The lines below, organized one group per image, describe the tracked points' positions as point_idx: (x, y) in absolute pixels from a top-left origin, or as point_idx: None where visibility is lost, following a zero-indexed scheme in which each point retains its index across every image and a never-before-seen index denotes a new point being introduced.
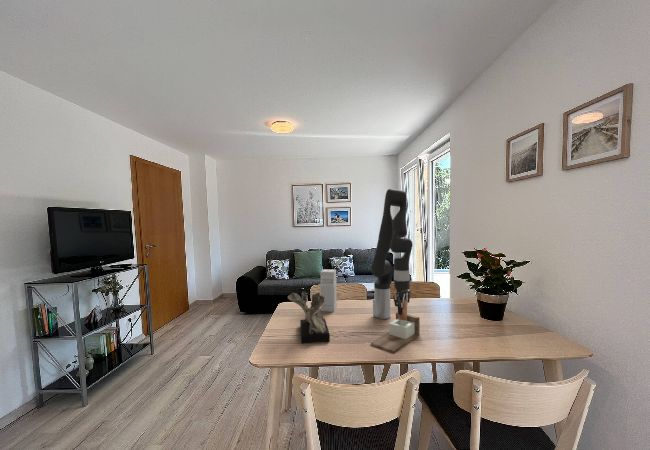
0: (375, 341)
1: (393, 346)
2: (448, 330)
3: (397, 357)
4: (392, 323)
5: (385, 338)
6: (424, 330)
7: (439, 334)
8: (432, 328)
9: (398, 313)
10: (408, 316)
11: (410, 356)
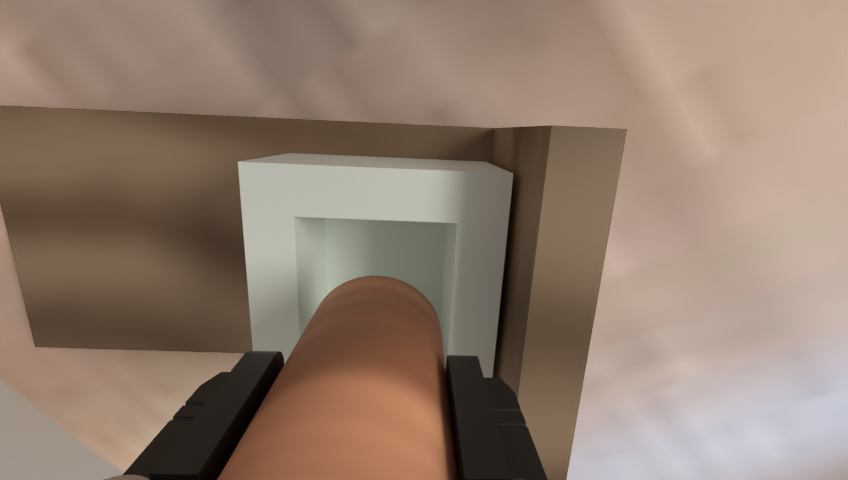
0: (43, 126)
1: (102, 307)
2: (731, 477)
3: (27, 381)
4: (268, 205)
5: (180, 172)
6: (633, 343)
7: (612, 454)
8: (714, 376)
9: (218, 383)
10: (521, 361)
11: (116, 437)
